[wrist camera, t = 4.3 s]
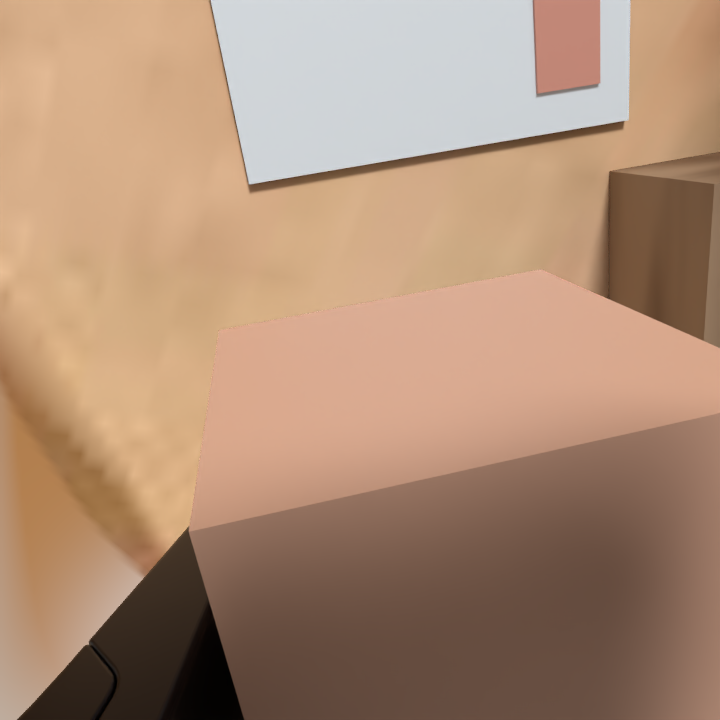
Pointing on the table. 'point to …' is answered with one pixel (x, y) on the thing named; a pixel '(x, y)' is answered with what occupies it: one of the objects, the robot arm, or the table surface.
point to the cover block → (465, 509)
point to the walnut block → (668, 243)
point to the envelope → (414, 76)
